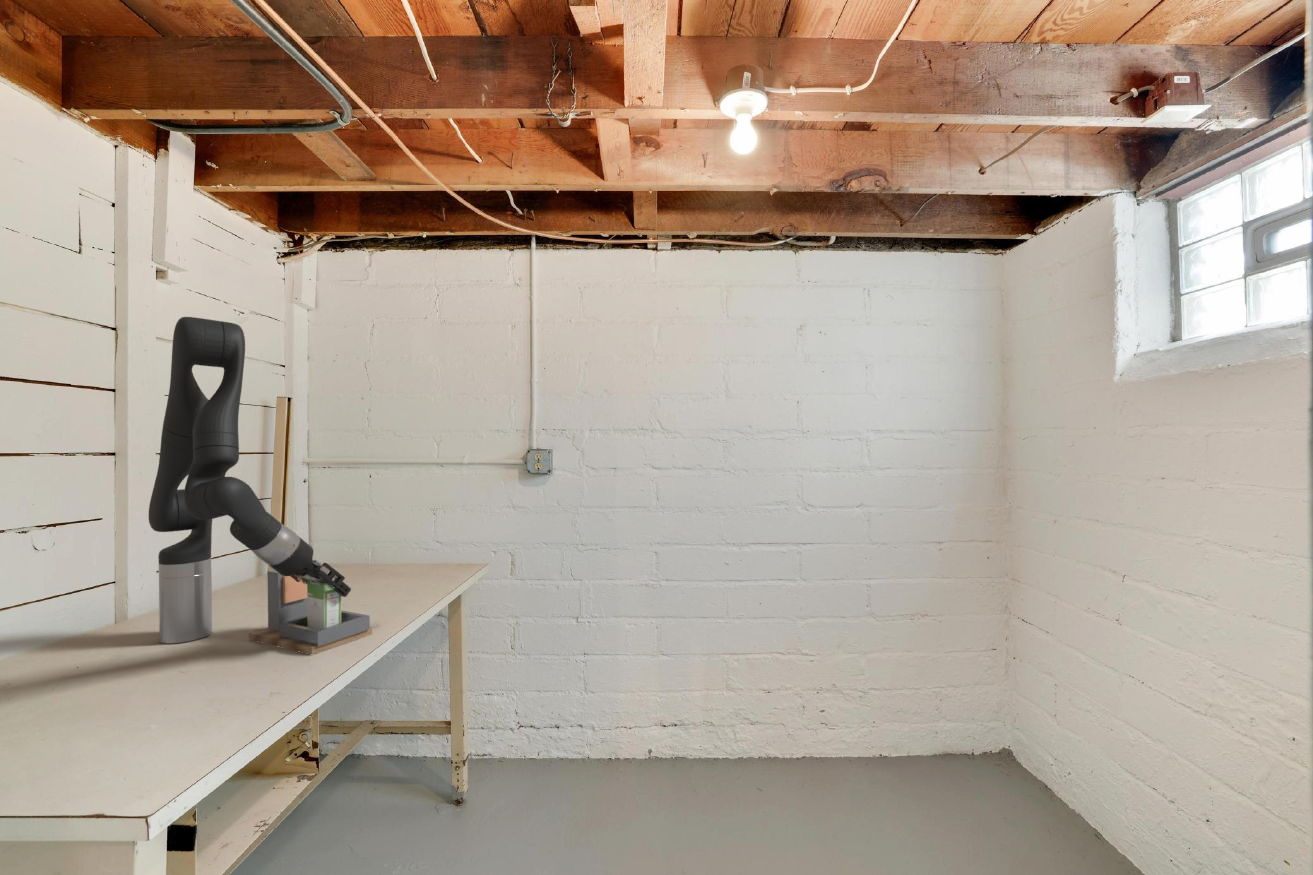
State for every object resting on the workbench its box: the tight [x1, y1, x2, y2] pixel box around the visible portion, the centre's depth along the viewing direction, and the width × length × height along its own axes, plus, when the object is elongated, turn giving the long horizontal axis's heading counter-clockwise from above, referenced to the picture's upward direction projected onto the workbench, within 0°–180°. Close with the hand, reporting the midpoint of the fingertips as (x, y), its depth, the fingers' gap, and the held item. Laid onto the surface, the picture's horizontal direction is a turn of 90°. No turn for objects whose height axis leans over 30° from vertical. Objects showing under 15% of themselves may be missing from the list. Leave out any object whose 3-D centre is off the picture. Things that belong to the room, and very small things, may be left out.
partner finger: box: [267, 569, 308, 631], centre depth 133 cm, size 5×7×13 cm
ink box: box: [307, 577, 342, 630], centre depth 128 cm, size 7×4×13 cm, turn 58°
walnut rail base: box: [248, 626, 373, 655], centre depth 130 cm, size 22×14×2 cm, turn 64°
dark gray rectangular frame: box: [280, 609, 371, 646], centre depth 129 cm, size 19×12×3 cm, turn 64°
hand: (335, 591), depth 130 cm, fingers open, 8 cm apart
